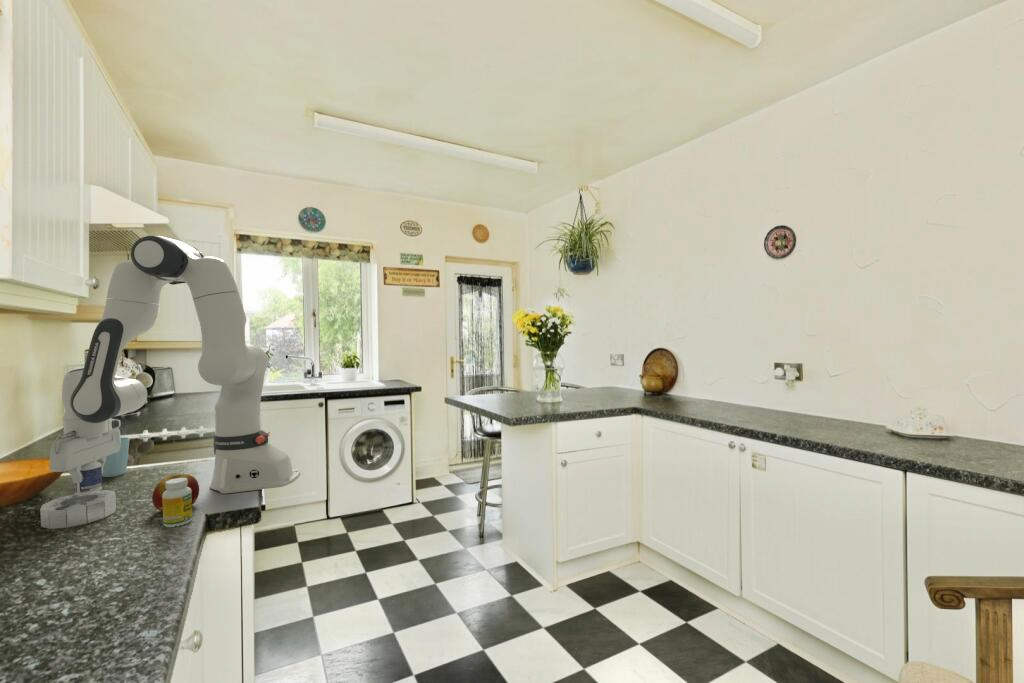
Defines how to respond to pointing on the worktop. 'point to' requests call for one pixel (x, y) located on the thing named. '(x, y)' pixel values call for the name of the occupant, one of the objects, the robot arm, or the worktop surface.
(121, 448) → the cup
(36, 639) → the worktop surface
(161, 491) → the fruit
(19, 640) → the worktop surface
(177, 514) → the supplement bottle
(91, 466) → the pill bottle
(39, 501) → the worktop surface
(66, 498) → the disc
